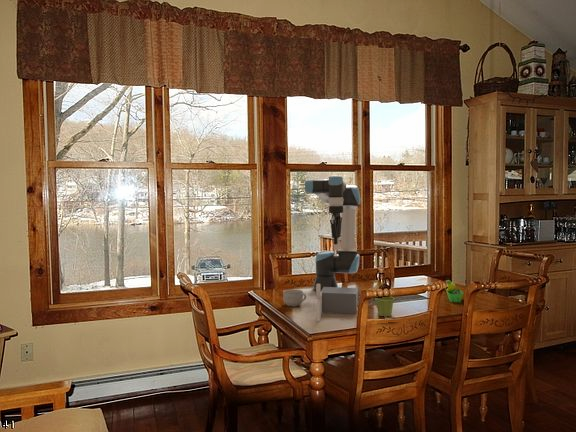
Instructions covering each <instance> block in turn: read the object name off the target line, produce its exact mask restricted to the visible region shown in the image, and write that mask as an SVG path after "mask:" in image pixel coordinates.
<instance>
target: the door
mask: <svg viewBox="0 0 576 432" xmlns="http://www.w3.org/2000/svg"><path fill="white" fill-rule="evenodd" d="M315 291H316V296H315V297H316V298H315V299H316V316H317V317H316V321H317V322H320V320H321V317H322V314H323V312H322V292H321V290H320V284H316V290H315Z"/></svg>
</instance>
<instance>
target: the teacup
mask: <svg viewBox="0 0 576 432" xmlns="http://www.w3.org/2000/svg"><path fill="white" fill-rule="evenodd" d="M282 292H283V293H282V300H283V303H284V304H285V306H287V307H299V306H300V305H302V303H303V302H304V301H306V299H307V294H306V293H305V292H304V290H302V289H285V290H283V291H282Z"/></svg>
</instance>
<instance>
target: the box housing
mask: <svg viewBox="0 0 576 432" xmlns="http://www.w3.org/2000/svg"><path fill="white" fill-rule="evenodd" d="M321 292H322V313H327V314H328V313H330V314H331V313H333V314H334V313H335V314H350V315H351V314H353V315H356V314H357V312H358V308H357V305H358V303H359V301H358V300H359V294H358V292H359V289H358V287H339V286H338V287H323V289H322V290H321ZM358 306H359V305H358Z"/></svg>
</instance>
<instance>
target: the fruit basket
mask: <svg viewBox="0 0 576 432" xmlns="http://www.w3.org/2000/svg"><path fill="white" fill-rule="evenodd" d="M445 282H447V283H448V288H447V289H446V288H445V290H446V291H445V292H446V293H447V298H448V299H449V302H450V303H461V302H462V298H463V295H464V293H463V291H462V290H461V289H460V288H459V289H458V288H457V287H456V284H455V283H454V282H452V281H451V280H449V279H447V280H445Z"/></svg>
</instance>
